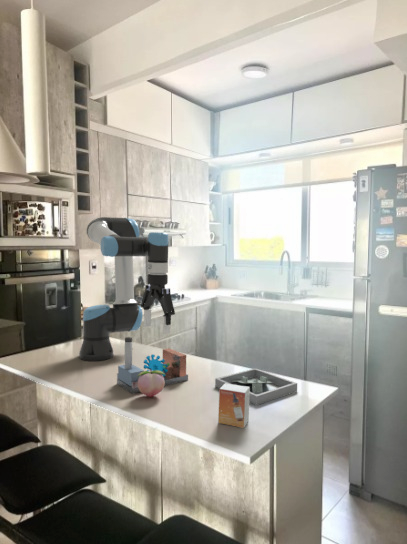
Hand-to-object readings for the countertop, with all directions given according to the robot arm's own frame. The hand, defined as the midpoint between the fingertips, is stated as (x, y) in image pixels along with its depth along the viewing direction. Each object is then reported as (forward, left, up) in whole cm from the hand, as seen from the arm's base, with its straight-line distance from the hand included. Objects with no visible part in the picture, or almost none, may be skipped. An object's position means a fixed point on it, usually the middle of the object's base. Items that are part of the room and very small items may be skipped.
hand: (156, 329), depth 149 cm
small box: (+43, 0, -20) cm, 48 cm away
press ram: (0, -11, -18) cm, 21 cm away
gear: (0, 0, -18) cm, 18 cm away
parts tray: (+28, +25, -20) cm, 43 cm away
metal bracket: (+26, +26, -21) cm, 42 cm away
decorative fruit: (+12, -10, -20) cm, 25 cm away
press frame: (0, -2, -20) cm, 20 cm away
